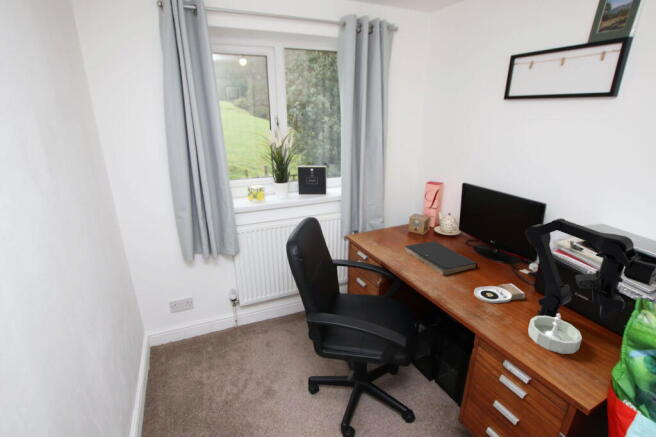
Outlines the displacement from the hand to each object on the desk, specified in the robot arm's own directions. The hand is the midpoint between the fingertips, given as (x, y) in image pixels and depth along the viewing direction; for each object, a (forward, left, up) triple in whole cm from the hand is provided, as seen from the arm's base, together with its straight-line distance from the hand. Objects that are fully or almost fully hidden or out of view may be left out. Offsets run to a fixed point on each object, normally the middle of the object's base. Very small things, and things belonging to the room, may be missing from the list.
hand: (598, 311), depth 110 cm
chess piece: (+6, -12, -11) cm, 18 cm away
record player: (-17, -30, -13) cm, 37 cm away
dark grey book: (-45, -60, -13) cm, 76 cm away
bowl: (+6, -12, -12) cm, 18 cm away
